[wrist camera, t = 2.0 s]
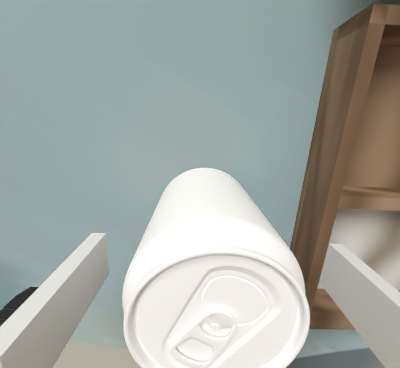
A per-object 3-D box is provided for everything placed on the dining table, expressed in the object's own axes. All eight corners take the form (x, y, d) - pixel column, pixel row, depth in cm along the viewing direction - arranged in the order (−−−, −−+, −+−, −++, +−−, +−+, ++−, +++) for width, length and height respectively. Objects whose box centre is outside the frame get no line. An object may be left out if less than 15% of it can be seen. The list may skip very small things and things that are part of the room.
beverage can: (263, 197, 19) (368, 305, 8) (214, 259, 21) (238, 424, 9) (191, 148, 18) (186, 191, 6) (144, 220, 20) (72, 357, 8)
